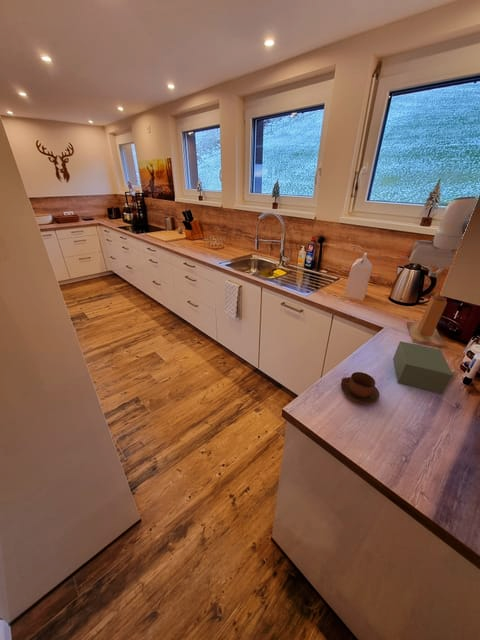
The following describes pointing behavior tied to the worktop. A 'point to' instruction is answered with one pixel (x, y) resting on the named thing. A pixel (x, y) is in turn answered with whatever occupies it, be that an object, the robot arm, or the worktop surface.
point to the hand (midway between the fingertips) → (432, 276)
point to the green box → (421, 367)
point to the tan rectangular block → (432, 314)
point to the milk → (358, 279)
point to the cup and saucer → (360, 388)
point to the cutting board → (424, 336)
